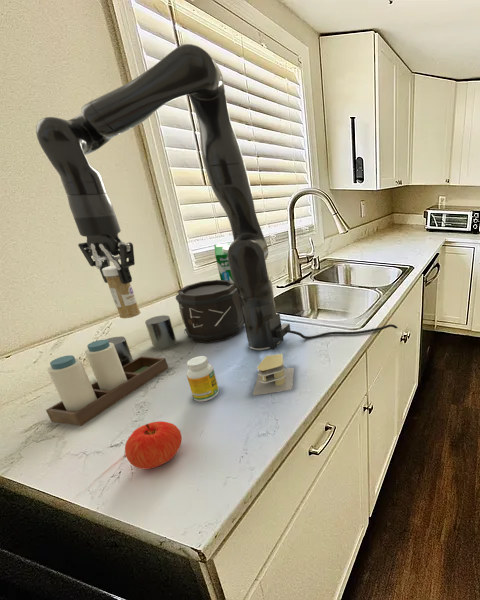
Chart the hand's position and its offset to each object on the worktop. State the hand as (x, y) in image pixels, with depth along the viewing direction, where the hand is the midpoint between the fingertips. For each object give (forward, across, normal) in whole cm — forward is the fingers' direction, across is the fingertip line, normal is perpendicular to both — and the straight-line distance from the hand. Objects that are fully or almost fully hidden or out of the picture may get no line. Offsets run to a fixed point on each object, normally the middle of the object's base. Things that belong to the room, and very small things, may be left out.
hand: (118, 282), depth 83 cm
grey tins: (+24, +2, -1) cm, 24 cm away
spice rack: (+24, -6, +14) cm, 28 cm away
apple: (+24, -33, +28) cm, 50 cm away
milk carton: (+24, -2, -39) cm, 46 cm away
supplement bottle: (+24, -28, +10) cm, 38 cm away
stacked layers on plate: (+24, -41, +2) cm, 48 cm away
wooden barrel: (+24, -7, -20) cm, 32 cm away
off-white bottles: (+23, -6, +17) cm, 29 cm away
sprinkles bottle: (+10, 0, 0) cm, 10 cm away
